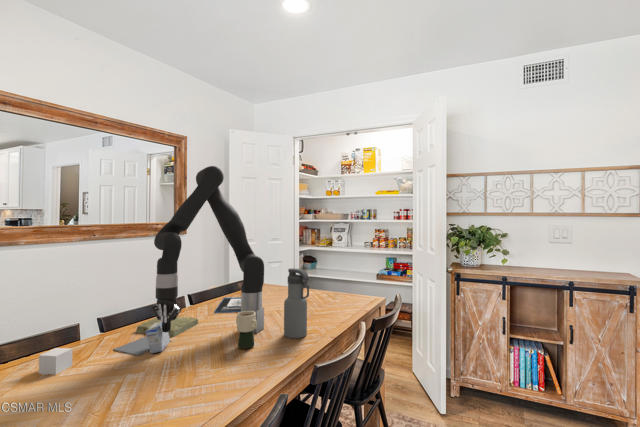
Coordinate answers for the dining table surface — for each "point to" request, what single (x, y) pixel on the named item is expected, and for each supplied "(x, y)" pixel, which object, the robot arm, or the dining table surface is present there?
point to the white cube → (55, 361)
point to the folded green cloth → (176, 325)
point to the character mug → (246, 328)
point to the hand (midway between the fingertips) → (166, 331)
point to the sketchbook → (229, 305)
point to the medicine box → (157, 338)
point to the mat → (135, 347)
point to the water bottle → (296, 305)
